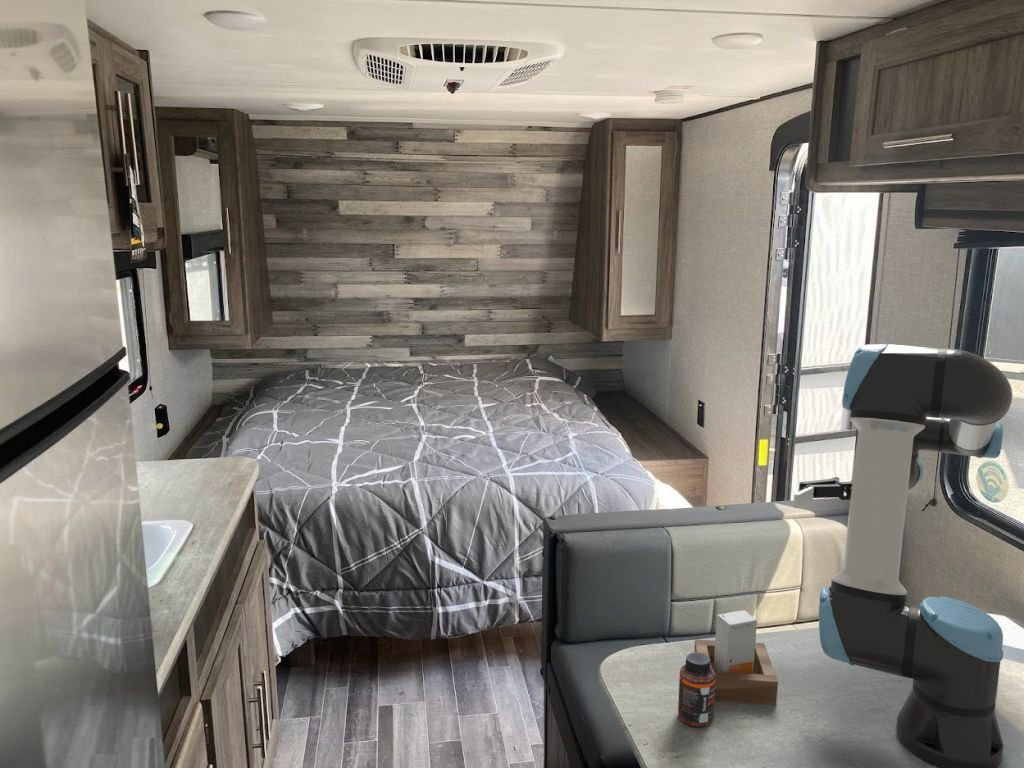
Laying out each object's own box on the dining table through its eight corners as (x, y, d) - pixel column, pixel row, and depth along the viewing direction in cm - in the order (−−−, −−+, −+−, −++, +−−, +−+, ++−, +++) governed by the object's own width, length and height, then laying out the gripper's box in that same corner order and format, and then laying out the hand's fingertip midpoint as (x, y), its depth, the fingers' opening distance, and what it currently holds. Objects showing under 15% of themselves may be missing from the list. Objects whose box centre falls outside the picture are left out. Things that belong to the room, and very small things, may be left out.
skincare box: (725, 685, 143) (728, 625, 140) (712, 673, 147) (715, 614, 144) (754, 679, 144) (758, 619, 142) (741, 667, 148) (744, 609, 146)
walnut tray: (776, 704, 138) (777, 681, 138) (701, 699, 140) (702, 676, 139) (762, 664, 151) (764, 643, 150) (694, 660, 153) (694, 639, 152)
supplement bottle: (714, 730, 131) (717, 669, 129) (677, 726, 133) (680, 665, 130) (712, 709, 137) (715, 650, 135) (677, 705, 138) (680, 647, 136)
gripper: (939, 517, 154) (895, 548, 140) (818, 487, 172) (768, 511, 158) (943, 481, 153) (899, 508, 139) (820, 455, 171) (770, 476, 157)
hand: (829, 510), depth 148 cm, fingers open, 13 cm apart
